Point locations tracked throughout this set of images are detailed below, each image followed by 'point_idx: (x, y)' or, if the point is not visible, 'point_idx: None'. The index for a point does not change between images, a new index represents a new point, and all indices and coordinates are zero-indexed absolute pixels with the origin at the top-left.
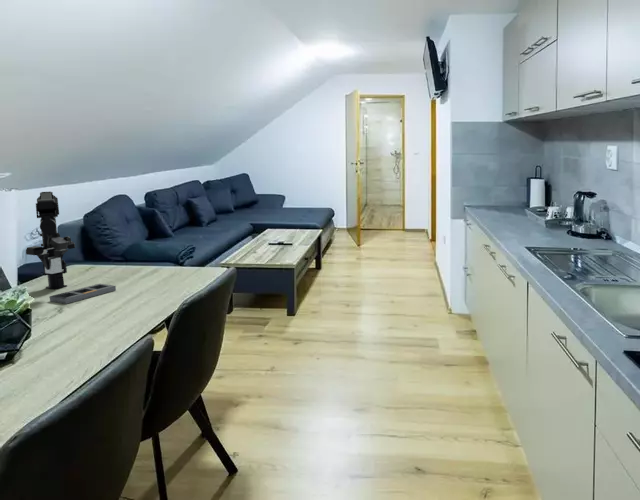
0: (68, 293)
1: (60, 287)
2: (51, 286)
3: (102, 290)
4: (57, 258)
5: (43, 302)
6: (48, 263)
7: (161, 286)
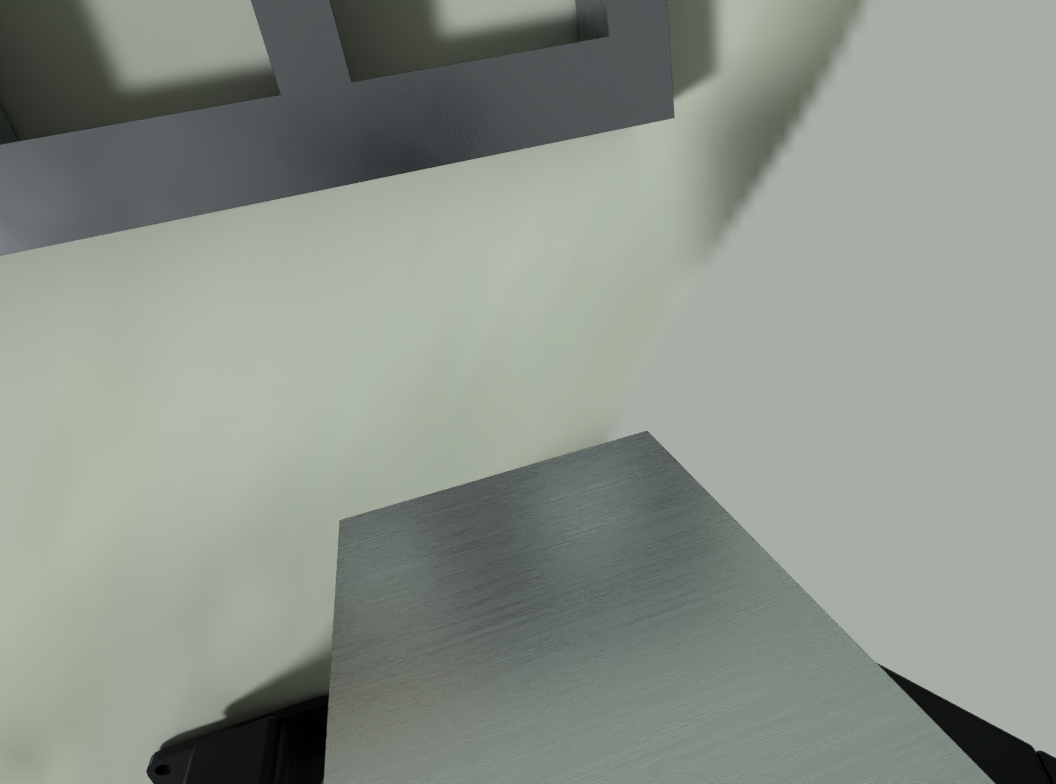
0: (369, 79)
1: (249, 724)
2: None
3: None
4: None
5: (698, 165)
6: None
7: None
